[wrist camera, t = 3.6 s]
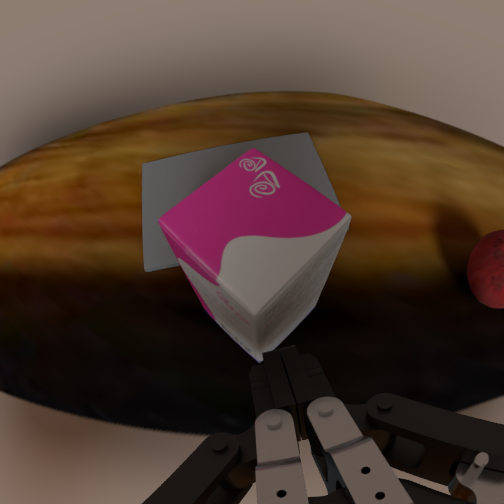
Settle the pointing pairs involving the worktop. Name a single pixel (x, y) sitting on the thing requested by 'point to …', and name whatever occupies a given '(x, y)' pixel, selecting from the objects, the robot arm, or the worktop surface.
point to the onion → (488, 270)
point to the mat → (206, 167)
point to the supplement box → (256, 248)
